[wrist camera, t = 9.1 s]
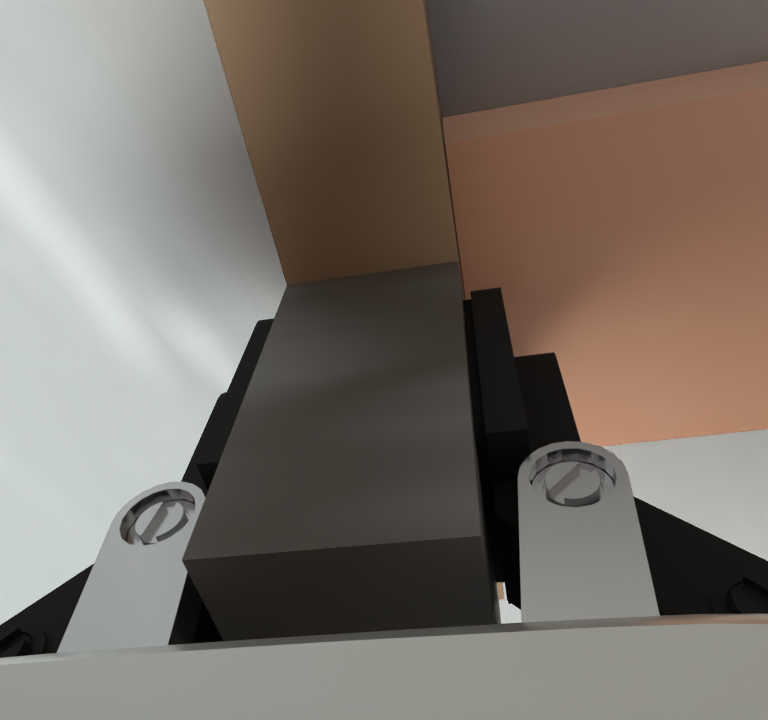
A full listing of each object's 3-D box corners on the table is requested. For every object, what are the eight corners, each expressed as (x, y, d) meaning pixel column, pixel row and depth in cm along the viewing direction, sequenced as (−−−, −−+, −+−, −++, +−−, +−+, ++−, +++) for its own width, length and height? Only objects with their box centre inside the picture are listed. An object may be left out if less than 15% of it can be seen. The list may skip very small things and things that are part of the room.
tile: (833, 45, 12) (901, 64, 10) (781, 369, 16) (824, 422, 14) (442, 114, 13) (444, 143, 11) (480, 404, 17) (486, 458, 15)
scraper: (413, -90, 10) (384, -98, 4) (497, 535, 18) (537, 906, 11) (228, -49, 11) (-103, 13, 4) (386, 544, 18) (360, 905, 12)
